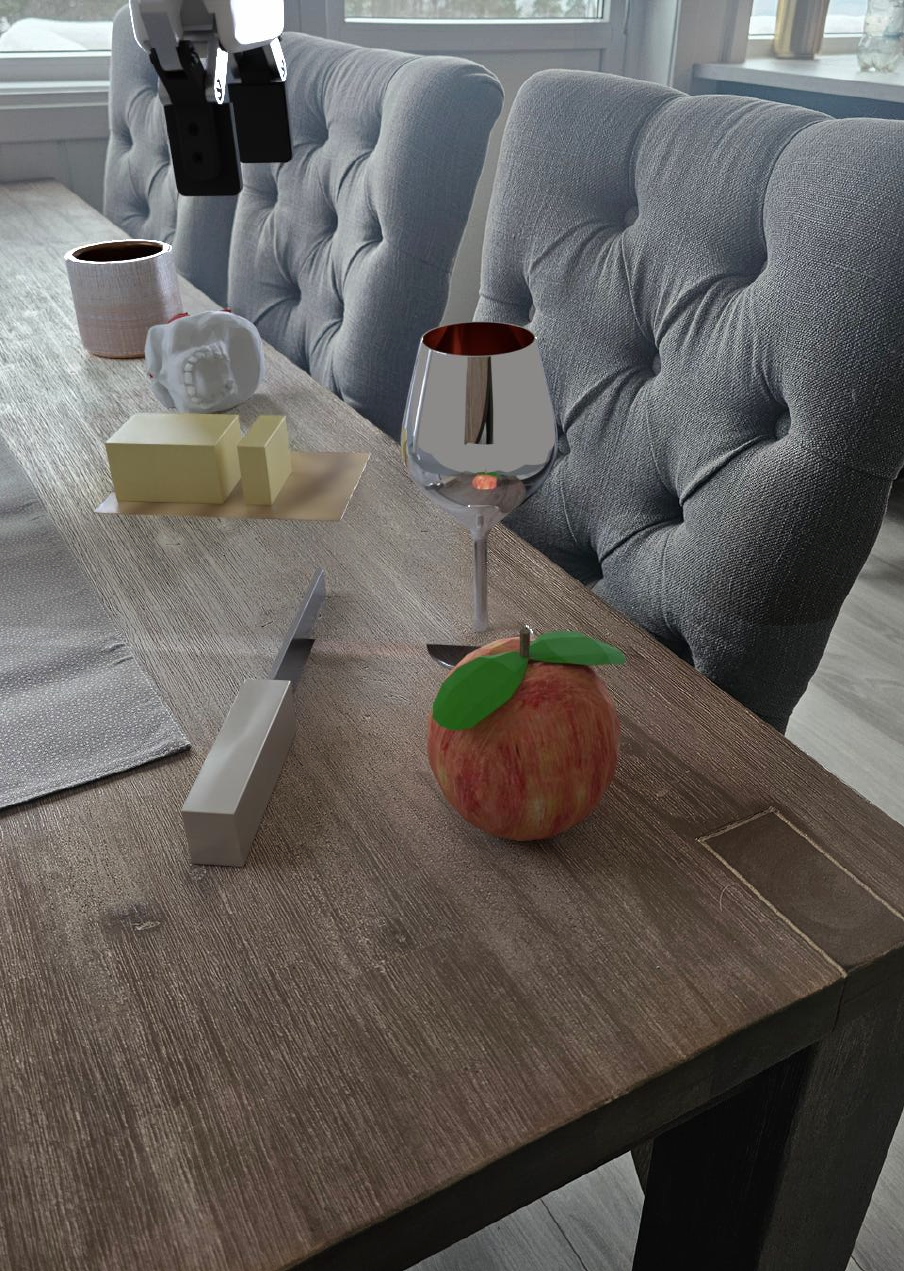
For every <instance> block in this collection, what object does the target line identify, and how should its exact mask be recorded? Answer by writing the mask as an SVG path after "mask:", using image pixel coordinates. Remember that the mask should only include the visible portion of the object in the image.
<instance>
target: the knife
mask: <svg viewBox="0 0 904 1271" xmlns="http://www.w3.org/2000/svg"><path fill="white" fill-rule="evenodd" d="M326 597H327V590H326V581H325V571H324V568H321V567H319V568H316V570H315V572H314V574H313V577H312V579H311V581H310V583H309V585H308V587H307V589H306V591H305V594H304V597H303V598H302V601H301V602H300V605H299V607H298V609H297V611H296V614H295V616H294V618H293V620H292V622H291V623H290V624H291V625H290V626H289V629H288V631H287V633H286V635H285V637H284V640H283V642H282V643H281V647H280V648H279V650H278V652H277V654H276V657H275V659H274V661H273V663H272V665H271V667H270V671H269V672H268V674H267V676H266V678H265V679H264V678H247V677H246V678H245V679H244V680H243V682H242V684H241V686H240V688H239V690H238V693H237V694H236V697H235V698H234V701H233V703H232V705H231V706H230V709H229V711H228V713H227V715H226V717H225V719H224V721H223V723H222V725H221V726H220V729H219V731H218V733H217V735H216V737H215V740H214V741H213V744H212V745H211V747H210V749H209V751H208V753H207V755H206V757H205V760H204V762H203V764H202V766H201V768H200V770H199V772H198V774H197V776H196V778H195V779H194V780H195V781H194V782H193V784H192V787H191V789H190V791H189V792H188V795H187V796H186V799H185V801H184V803H183V805H182V807H181V809H180V814H181V819H182V823H183V828H184V834H185V838H186V842H187V847H188V852H189V857H190V862H191V864H193V865H206V866H220V867H233V868H244V866H245V864H246V861H247V858H248V856H249V854H250V851H251V849H252V847H253V844H254V841H255V838H256V836H257V833H258V830H259V828H260V825H261V823H262V820H263V817H264V816H265V812H266V811H267V807H268V805H269V803H270V800H271V797H272V795H273V792H274V790H275V788H276V784H277V781H278V780H279V778H280V774H281V771H282V769H283V766H284V764H285V762H286V759H287V756H288V754H289V751H290V748H291V746H292V743H293V741H294V738H295V736H296V733H297V730H298V729H297V720H296V713H295V704H294V692H295V690H296V687H297V685H298V683H299V681H300V678H301V676H302V673H303V671H304V668H305V666H306V664H307V661H308V658H309V656H310V654H311V651H312V649H313V647H314V644H315V642H316V638H309V636H310V634H311V631H312V629H313V626H314V624H315V622H316V620H317V617H318V615H319V613H320V611H321V608H322V605H323V603H324V601H325V599H326Z"/></svg>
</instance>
